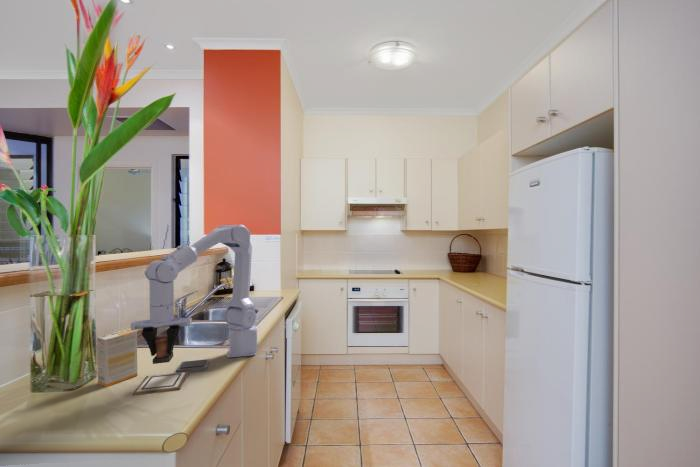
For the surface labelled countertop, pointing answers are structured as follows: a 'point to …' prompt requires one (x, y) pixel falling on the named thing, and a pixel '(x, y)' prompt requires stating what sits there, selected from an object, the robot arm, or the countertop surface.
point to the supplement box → (116, 357)
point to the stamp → (162, 350)
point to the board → (161, 383)
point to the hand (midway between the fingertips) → (162, 353)
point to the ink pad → (193, 366)
